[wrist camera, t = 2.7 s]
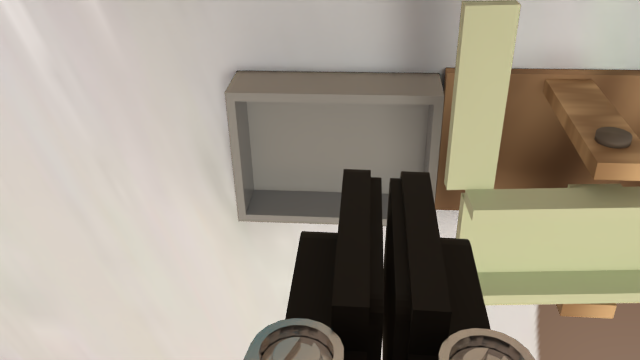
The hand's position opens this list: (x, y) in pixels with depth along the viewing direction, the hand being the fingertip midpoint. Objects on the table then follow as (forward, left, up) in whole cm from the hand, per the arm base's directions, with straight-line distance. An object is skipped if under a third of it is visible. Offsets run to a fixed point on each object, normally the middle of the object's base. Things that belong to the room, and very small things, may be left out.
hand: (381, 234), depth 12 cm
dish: (+13, -3, -31) cm, 33 cm away
